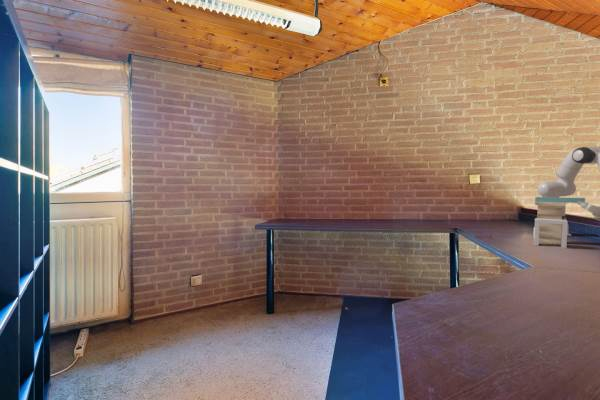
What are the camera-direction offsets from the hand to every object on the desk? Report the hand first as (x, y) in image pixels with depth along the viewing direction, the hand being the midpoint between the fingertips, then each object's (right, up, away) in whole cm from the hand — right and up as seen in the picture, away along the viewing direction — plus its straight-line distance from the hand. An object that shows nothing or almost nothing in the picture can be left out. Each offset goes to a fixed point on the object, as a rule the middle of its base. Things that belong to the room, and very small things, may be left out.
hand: (576, 201), depth 191 cm
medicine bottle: (-3, -26, +23) cm, 35 cm away
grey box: (-18, -27, -2) cm, 32 cm away
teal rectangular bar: (-7, -1, +5) cm, 8 cm away
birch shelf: (-10, -26, +9) cm, 30 cm away
